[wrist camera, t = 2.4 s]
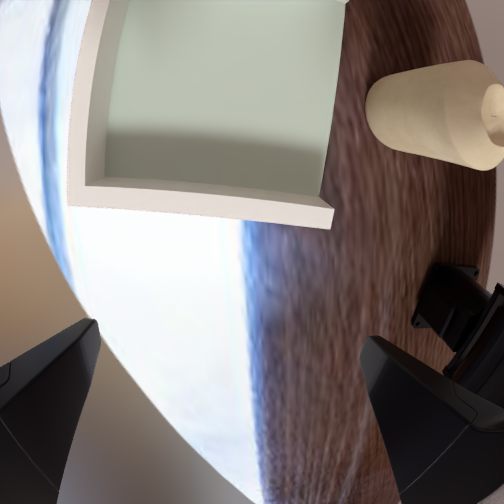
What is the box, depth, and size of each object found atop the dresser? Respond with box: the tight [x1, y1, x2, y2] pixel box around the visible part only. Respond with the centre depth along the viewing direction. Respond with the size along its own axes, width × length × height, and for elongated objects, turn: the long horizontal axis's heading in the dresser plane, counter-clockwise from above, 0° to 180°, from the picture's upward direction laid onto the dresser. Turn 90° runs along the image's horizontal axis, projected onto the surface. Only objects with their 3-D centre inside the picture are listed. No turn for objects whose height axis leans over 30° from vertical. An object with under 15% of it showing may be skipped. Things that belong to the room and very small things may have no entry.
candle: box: [365, 60, 504, 171], centre depth 13 cm, size 6×6×10 cm
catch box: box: [67, 0, 349, 229], centre depth 15 cm, size 15×16×4 cm
